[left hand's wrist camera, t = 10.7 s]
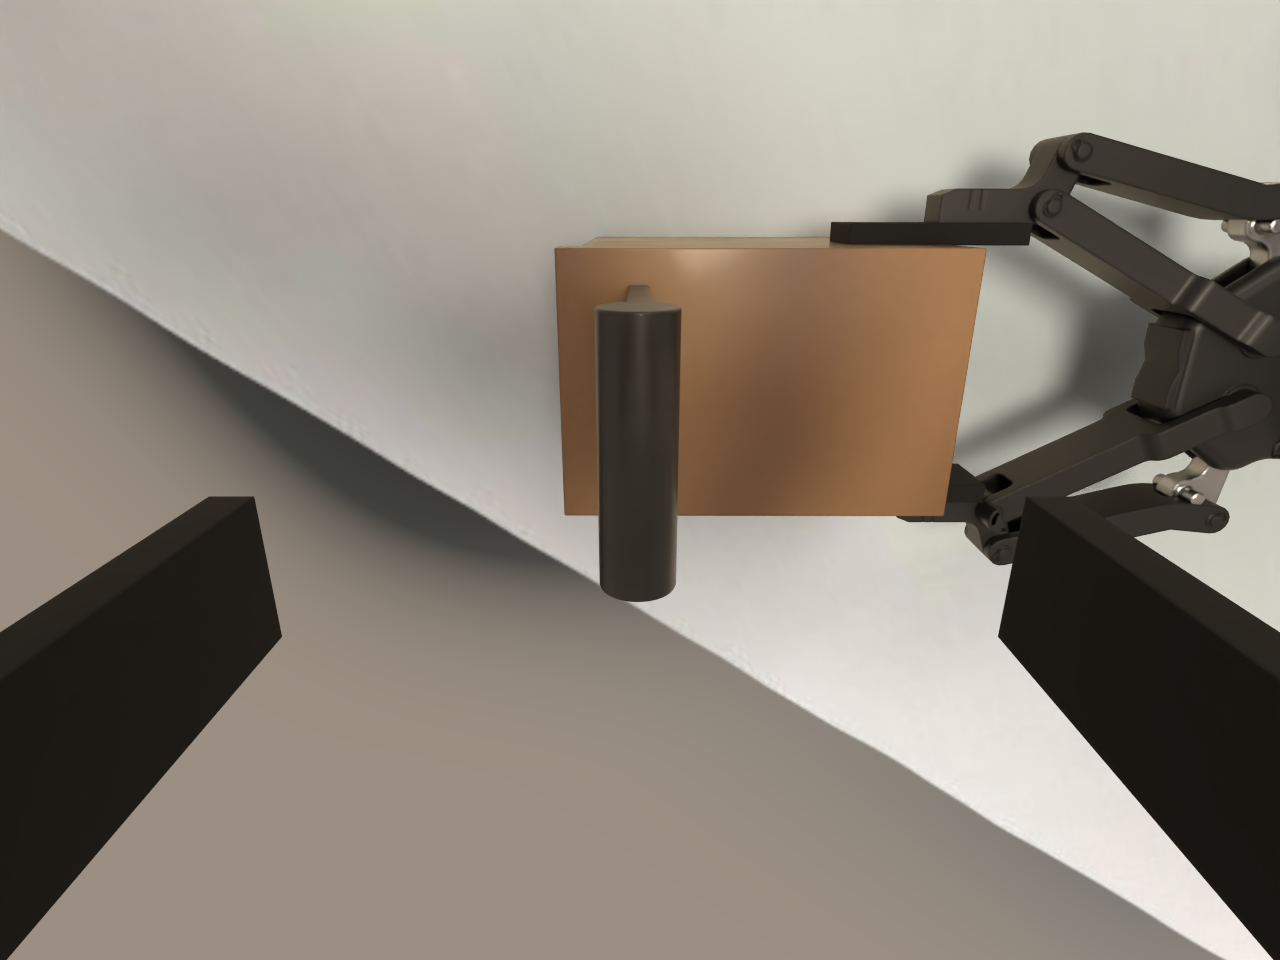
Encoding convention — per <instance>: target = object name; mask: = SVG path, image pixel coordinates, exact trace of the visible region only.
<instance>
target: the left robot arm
mask: <svg viewBox="0 0 1280 960" xmlns="http://www.w3.org/2000/svg"><path fill="white" fill-rule="evenodd" d="M281 637H282V634H281V630H280V624H279V619H278V614H277V609H276V604H275V599H274V594H273V589H272V584H271V579H270V574H269V569H268V564H267V559H266V554H265V549H264V544H263V539H262V534H261V529H260V524H259V519H258V514H257V509H256V504H255V499H254V497H208V498H206V499H205V500H203V501H202V502H200V503H198V504H197V505H195V506H194V507H192V508H191V509H189V510H188V511H186V512H185V513H183V514H182V515H180V516H178V517H177V518H175V519H174V520H172V521H171V522H169V523H168V524H166V525H165V526H163V527H162V528H160V529H159V530H157V531H155V532H154V533H152V534H151V535H149V536H148V537H146V538H145V539H143V540H142V541H140V542H138V543H137V544H135V545H134V546H132V547H131V548H129V549H128V550H126V551H125V552H123V553H122V554H120V555H119V556H117V557H115V558H114V559H112V560H111V561H109V562H108V563H106V564H105V565H103V566H102V567H100V568H99V569H97V570H95V571H94V572H92V573H91V574H89V575H88V576H86V577H85V578H83V579H82V580H80V581H79V582H77V583H75V584H74V585H72V586H71V587H69V588H68V589H66V590H65V591H63V592H62V593H60V594H59V595H57V596H55V597H54V598H52V599H51V600H49V601H48V602H46V603H45V604H43V605H42V606H40V607H39V608H37V609H35V610H34V611H32V612H31V613H29V614H28V615H26V616H25V617H23V618H22V619H20V620H19V621H17V622H15V623H14V624H12V625H11V626H9V627H8V628H6V629H5V630H3V631H2V632H0V960H7V959H8V958H9V956H10V955H11V954H12V953H13V952H14V950H15V949H16V948H17V947H18V946H19V944H20V943H21V942H22V941H23V940H24V939H25V937H26V936H27V935H28V934H29V933H30V932H31V931H32V929H33V928H34V927H35V926H36V925H37V923H38V922H39V921H40V920H41V919H42V918H43V916H44V915H45V914H46V913H47V912H48V910H49V909H50V908H51V907H52V906H53V905H54V904H55V902H56V901H57V900H58V899H59V898H60V896H61V895H62V894H63V893H64V892H65V891H66V889H67V888H68V887H69V886H70V885H71V884H72V882H73V881H74V880H75V879H76V878H77V877H78V875H79V874H80V873H81V872H82V871H83V869H84V868H85V867H86V866H87V865H88V864H89V862H90V861H91V860H92V859H93V858H94V857H95V855H96V854H97V853H98V852H99V851H100V850H101V848H102V847H103V846H104V845H105V844H106V843H107V841H108V840H109V839H110V838H111V837H112V835H113V834H114V833H115V832H116V831H117V830H118V828H119V827H120V826H121V825H122V824H123V823H124V821H125V820H126V819H127V818H128V817H129V815H130V814H131V813H132V812H133V811H134V810H135V808H136V807H137V806H138V805H139V804H140V803H141V801H142V800H143V799H144V798H145V797H146V796H147V794H148V793H149V792H150V791H151V790H152V789H153V787H154V786H155V785H156V784H157V783H158V781H159V780H160V779H161V778H162V777H163V776H164V774H165V773H166V772H167V771H168V770H169V769H170V767H171V766H172V765H173V764H174V763H175V762H176V760H177V759H178V758H179V757H180V756H181V755H182V753H183V752H184V751H185V750H186V749H187V747H188V746H189V745H190V744H191V743H192V742H193V740H194V739H195V738H196V737H197V736H198V735H199V733H200V732H201V731H202V730H203V729H204V728H205V726H206V725H207V724H208V723H209V722H210V720H211V719H212V718H213V717H214V716H215V715H216V713H217V712H218V711H219V710H220V709H221V708H222V706H223V705H224V704H225V703H226V702H227V701H228V699H229V698H230V697H231V696H232V695H233V693H234V692H235V691H236V690H237V689H238V688H239V686H240V685H241V684H242V683H243V682H244V681H245V679H246V678H247V677H248V676H249V675H250V674H251V672H252V671H253V670H254V669H255V668H256V666H257V665H258V664H259V663H260V662H261V661H262V659H263V658H264V657H265V656H266V655H267V654H268V652H269V651H270V650H271V649H272V648H273V647H274V645H275V644H276V643H277V642H278V641H279V639H280V638H281ZM998 637H999V638H1000V640H1001V641H1002V642H1003V643H1004V644H1005V645H1006V647H1007V648H1008V649H1009V650H1010V651H1011V652H1012V654H1013V655H1014V656H1015V657H1016V658H1017V659H1018V661H1019V662H1020V663H1021V664H1022V665H1023V666H1024V668H1025V669H1026V670H1027V671H1028V672H1029V674H1030V675H1031V676H1032V677H1033V678H1034V679H1035V681H1036V682H1037V683H1038V684H1039V685H1040V686H1041V688H1042V689H1043V690H1044V691H1045V692H1046V693H1047V695H1048V696H1049V697H1050V698H1051V699H1052V701H1053V702H1054V703H1055V704H1056V705H1057V706H1058V708H1059V709H1060V710H1061V711H1062V712H1063V713H1064V715H1065V716H1066V717H1067V718H1068V719H1069V720H1070V722H1071V723H1072V724H1073V725H1074V726H1075V728H1076V729H1077V730H1078V731H1079V732H1080V733H1081V735H1082V736H1083V737H1084V738H1085V739H1086V740H1087V742H1088V743H1089V744H1090V745H1091V746H1092V747H1093V749H1094V750H1095V751H1096V752H1097V753H1098V755H1099V756H1100V757H1101V758H1102V759H1103V760H1104V762H1105V763H1106V764H1107V765H1108V766H1109V767H1110V769H1111V770H1112V771H1113V772H1114V773H1115V774H1116V776H1117V777H1118V778H1119V779H1120V780H1121V781H1122V783H1123V784H1124V785H1125V786H1126V787H1127V789H1128V790H1129V791H1130V792H1131V793H1132V794H1133V796H1134V797H1135V798H1136V799H1137V800H1138V801H1139V803H1140V804H1141V805H1142V806H1143V807H1144V808H1145V810H1146V811H1147V812H1148V813H1149V814H1150V816H1151V817H1152V818H1153V819H1154V820H1155V821H1156V823H1157V824H1158V825H1159V826H1160V827H1161V828H1162V830H1163V831H1164V832H1165V833H1166V834H1167V835H1168V837H1169V838H1170V839H1171V840H1172V841H1173V843H1174V844H1175V845H1176V846H1177V847H1178V848H1179V850H1180V851H1181V852H1182V853H1183V854H1184V855H1185V857H1186V858H1187V859H1188V860H1189V861H1190V862H1191V864H1192V865H1193V866H1194V867H1195V868H1196V869H1197V871H1198V872H1199V873H1200V874H1201V875H1202V877H1203V878H1204V879H1205V880H1206V881H1207V882H1208V884H1209V885H1210V886H1211V887H1212V888H1213V889H1214V891H1215V892H1216V893H1217V894H1218V895H1219V896H1220V898H1221V899H1222V900H1223V901H1224V902H1225V904H1226V905H1227V906H1228V907H1229V908H1230V909H1231V911H1232V912H1233V913H1234V914H1235V915H1236V916H1237V918H1238V919H1239V920H1240V921H1241V922H1242V923H1243V925H1244V926H1245V927H1246V928H1247V929H1248V931H1249V932H1250V933H1251V934H1252V935H1253V936H1254V938H1255V939H1256V940H1257V941H1258V942H1259V943H1260V945H1261V946H1262V947H1263V948H1264V949H1265V950H1266V952H1267V953H1268V954H1269V955H1270V956H1271V958H1272V959H1273V960H1280V632H1278V631H1277V630H1275V629H1274V628H1272V627H1271V626H1269V625H1268V624H1266V623H1265V622H1263V621H1261V620H1260V619H1258V618H1257V617H1255V616H1254V615H1252V614H1251V613H1249V612H1248V611H1246V610H1245V609H1243V608H1241V607H1240V606H1238V605H1237V604H1235V603H1234V602H1232V601H1231V600H1229V599H1228V598H1226V597H1225V596H1223V595H1221V594H1220V593H1218V592H1217V591H1215V590H1214V589H1212V588H1211V587H1209V586H1208V585H1206V584H1205V583H1203V582H1201V581H1200V580H1198V579H1197V578H1195V577H1194V576H1192V575H1191V574H1189V573H1188V572H1186V571H1185V570H1183V569H1181V568H1180V567H1178V566H1177V565H1175V564H1174V563H1172V562H1171V561H1169V560H1168V559H1166V558H1165V557H1163V556H1161V555H1160V554H1158V553H1157V552H1155V551H1154V550H1152V549H1151V548H1149V547H1148V546H1146V545H1145V544H1143V543H1142V542H1140V541H1138V540H1137V539H1135V538H1134V537H1132V536H1131V535H1129V534H1128V533H1126V532H1125V531H1123V530H1122V529H1120V528H1118V527H1117V526H1115V525H1114V524H1112V523H1111V522H1109V521H1108V520H1106V519H1105V518H1103V517H1102V516H1100V515H1098V514H1097V513H1095V512H1094V511H1092V510H1091V509H1089V508H1088V507H1086V506H1085V505H1083V504H1082V503H1080V502H1078V501H1077V500H1075V499H1074V498H1072V497H1026V499H1025V504H1024V509H1023V514H1022V519H1021V524H1020V529H1019V534H1018V539H1017V544H1016V549H1015V554H1014V559H1013V564H1012V569H1011V574H1010V579H1009V584H1008V589H1007V594H1006V599H1005V604H1004V609H1003V614H1002V619H1001V624H1000V629H999V634H998Z"/></svg>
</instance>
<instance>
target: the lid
mask: <svg viewBox="0 0 1280 960" xmlns="http://www.w3.org/2000/svg"><path fill="white" fill-rule="evenodd" d="M985 256H986V249H985V248H976V247H781V246H559V247H557V248H555V274H556V301H557V327H558V353H559V380H560V406H561V432H562V459H563V485H564V511H565V515H599V564H600V586H601V588H602V589H603V591H604V592H605V593H606V594H608V595H610V596H611V597H614V598H616V599H619V600H624V601H631V602H645V601H652V600H656V599H659V598H662V597H664V596H666V595H668V594H669V593H670V592H671V591H672V590H673V589H674V587H675V585H676V552H677V516H943V515H944V510H945V504H946V498H947V492H948V485H949V479H950V473H951V467H952V461H953V454H954V448H955V442H956V436H957V430H958V423H959V417H960V411H961V405H962V399H963V392H964V386H965V380H966V374H967V368H968V361H969V355H970V349H971V343H972V337H973V330H974V324H975V318H976V312H977V306H978V299H979V293H980V287H981V281H982V275H983V268H984V262H985Z"/></svg>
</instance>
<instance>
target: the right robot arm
mask: <svg viewBox="0 0 1280 960" xmlns="http://www.w3.org/2000/svg"><path fill="white" fill-rule="evenodd" d="M1029 161H1030V167H1029V169H1028V171H1027V173H1026V175H1025V176H1024V178H1023V179H1022V181H1021V182H1020V183H1019V184H1018V185H1016V186H1015V187H1013V188H1010V189H947V190H940V191H937V192H935V193H933V194H930V195H928V196H927V203H926V210H925V218H924V222H831V232H830V242H836V243H843V244H946V245H1029V241H1030V236H1033V237H1034V238H1036V239H1038V240H1039V241H1041V242H1042V243H1044V244H1046V245H1047V246H1049V247H1051V248H1052V249H1054V250H1055V251H1057V252H1059V253H1060V254H1062V255H1063V256H1065V257H1067V258H1068V259H1070V260H1072V261H1073V262H1075V263H1076V264H1078V265H1080V266H1081V267H1083V268H1085V269H1086V270H1088V271H1089V272H1091V273H1093V274H1094V275H1096V276H1097V277H1099V278H1101V279H1102V280H1104V281H1106V282H1107V283H1109V284H1110V285H1112V286H1114V287H1115V288H1117V289H1119V290H1120V291H1122V292H1123V293H1125V294H1127V295H1128V296H1130V297H1131V299H1130V300H1131V301H1133V302H1134V303H1136V304H1137V305H1139V306H1140V307H1142V308H1144V309H1145V310H1147V311H1148V312H1150V313H1152V314H1153V315H1155V316H1157V317H1158V318H1159V319H1158V320H1157V322H1156V323H1149V326H1148V330H1147V334H1146V338H1145V362H1144V364H1143V366H1142V368H1141V370H1140V372H1139V374H1138V376H1137V378H1136V379H1135V383H1134V387H1133V392H1132V396H1131V398H1134V399H1132V400H1129V401H1127V402H1125V403H1123V404H1121V405H1119V406H1116V407H1114V408H1112V409H1110V410H1108V411H1106V412H1105V413H1104V414H1103V418H1102V419H1101V420H1099V421H1097V422H1095V423H1093V424H1091V425H1088V426H1086V427H1084V428H1082V429H1080V430H1077V431H1075V432H1073V433H1071V434H1069V435H1066V436H1064V437H1062V438H1060V439H1058V440H1055V441H1053V442H1051V443H1049V444H1047V445H1044V446H1042V447H1040V448H1038V449H1036V450H1033V451H1031V452H1029V453H1027V454H1025V455H1022V456H1020V457H1018V458H1016V459H1014V460H1011V461H1009V462H1007V463H1005V464H1003V465H1000V466H998V467H996V468H994V469H992V470H989V471H987V472H985V473H983V474H981V475H978V476H976V477H974V476H973V475H972V474H970V473H969V472H968V471H967V470H965V469H964V468H963V467H961V466H960V465H959V464H952V467H951V473H950V479H949V485H948V492H947V498H946V504H945V510H944V515H943V516H897V518H900V519H902V520H905V521H907V522H966V527H965V535H966V537H967V538H968V539H969V540H970V541H971V542H972V543H973V544H974V545H975V546H976V547H977V548H978V549H979V550H980V551H981V552H982V553H983V554H984V555H985V556H986V557H987V558H988V559H989V560H990V561H991V562H992V563H993V564H996V565H1007V564H1011V563H1013V559H1014V554H1015V549H1016V544H1017V539H1018V534H1019V529H1020V524H1021V519H1022V514H1023V509H1024V504H1025V499H1026V497H1065V496H1067V495H1070V494H1072V493H1074V492H1077V491H1079V490H1081V489H1083V488H1086V487H1088V486H1090V485H1092V484H1095V483H1097V482H1099V481H1102V480H1104V479H1106V478H1108V477H1111V476H1113V475H1115V474H1117V473H1120V472H1122V471H1124V470H1126V469H1129V468H1131V467H1133V466H1136V465H1138V464H1140V463H1142V462H1145V461H1150V460H1153V461H1160V460H1166V459H1169V458H1171V457H1174V456H1176V455H1178V454H1180V453H1183V452H1185V453H1186V454H1187V455H1188V456H1189V457H1191V458H1192V460H1191V462H1190V464H1189V465H1188V466H1187V467H1186V468H1185V469H1184V470H1182V471H1179V472H1175V473H1169V474H1167V475H1164V474H1158V475H1156V476H1155V477H1154V479H1153V484H1152V483H1137V484H1128V485H1122V486H1117V487H1113V488H1108V489H1104V490H1099V491H1095V492H1090V493H1086V494H1081V495H1076V496H1072V498H1074V499H1075V500H1077V501H1078V502H1080V503H1082V504H1083V505H1085V506H1086V507H1088V508H1089V509H1091V510H1092V511H1094V512H1095V513H1097V514H1098V515H1100V516H1102V517H1103V518H1105V519H1106V520H1108V521H1109V522H1111V523H1112V524H1114V525H1115V526H1117V527H1118V528H1120V529H1122V530H1123V531H1125V532H1126V533H1128V534H1129V535H1131V536H1132V537H1137V536H1142V535H1147V534H1151V533H1156V532H1161V531H1166V530H1170V529H1171V530H1181V531H1191V532H1201V533H1216V532H1218V531H1220V530H1222V529H1223V528H1224V527H1225V526H1226V525H1227V523H1228V521H1229V517H1230V516H1229V512H1228V511H1227V510H1226V509H1225V508H1223V507H1221V506H1219V505H1217V504H1216V502H1217V500H1218V497H1219V495H1220V492H1221V490H1222V488H1223V485H1224V483H1225V480H1226V478H1227V475H1228V473H1229V471H1230V470H1235V469H1239V468H1242V467H1244V466H1246V465H1248V464H1250V463H1253V462H1255V461H1259V460H1263V459H1280V182H1266V183H1259V182H1256V181H1252V180H1249V179H1245V178H1242V177H1238V176H1235V175H1232V174H1228V173H1225V172H1221V171H1218V170H1215V169H1211V168H1208V167H1204V166H1201V165H1198V164H1194V163H1191V162H1187V161H1184V160H1181V159H1177V158H1174V157H1170V156H1167V155H1163V154H1160V153H1157V152H1153V151H1150V150H1146V149H1143V148H1140V147H1136V146H1133V145H1129V144H1126V143H1123V142H1119V141H1116V140H1112V139H1109V138H1106V137H1102V136H1099V135H1095V134H1092V133H1078V134H1072V135H1067V136H1061V137H1056V138H1051V139H1046V140H1043V141H1040V142H1039V143H1038V144H1036V145H1035V146H1034V148H1033V149H1032V151H1031V153H1030V158H1029ZM1075 184H1077V185H1081V186H1084V187H1088V188H1091V189H1095V190H1098V191H1102V192H1105V193H1109V194H1112V195H1116V196H1119V197H1123V198H1126V199H1130V200H1133V201H1137V202H1140V203H1144V204H1147V205H1151V206H1154V207H1158V208H1161V209H1165V210H1168V211H1172V212H1175V213H1179V214H1182V215H1186V216H1189V217H1194V218H1199V219H1208V220H1223V222H1222V224H1221V229H1222V230H1223V231H1224V232H1228V235H1229V237H1230V238H1231V239H1233V240H1235V241H1240V242H1244V243H1245V244H1247V246H1248V247H1249V249H1250V257H1248V258H1246V259H1244V260H1242V261H1241V262H1239V263H1237V264H1236V265H1234V266H1232V267H1231V268H1229V269H1228V270H1226V271H1224V272H1223V273H1221V274H1220V275H1218V276H1217V277H1215V278H1213V279H1212V280H1209V279H1207V278H1204V277H1200V276H1198V275H1195V274H1193V273H1192V272H1190V271H1189V270H1187V269H1185V268H1184V267H1182V266H1181V265H1179V264H1178V263H1176V262H1174V261H1173V260H1171V259H1170V258H1168V257H1167V256H1165V255H1163V254H1162V253H1160V252H1159V251H1157V250H1156V249H1154V248H1152V247H1151V246H1149V245H1148V244H1146V243H1145V242H1143V241H1141V240H1140V239H1138V238H1137V237H1135V236H1134V235H1132V234H1130V233H1129V232H1127V231H1126V230H1124V229H1123V228H1121V227H1119V226H1118V225H1116V224H1115V223H1113V222H1112V221H1110V220H1108V219H1107V218H1105V217H1104V216H1102V215H1101V214H1099V213H1097V212H1096V211H1094V210H1093V209H1091V208H1090V207H1088V206H1086V205H1085V204H1083V203H1082V202H1080V201H1079V200H1077V199H1075V198H1074V197H1072V196H1071V195H1070V193H1071V191H1072V189H1073V187H1074V185H1075Z"/></svg>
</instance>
